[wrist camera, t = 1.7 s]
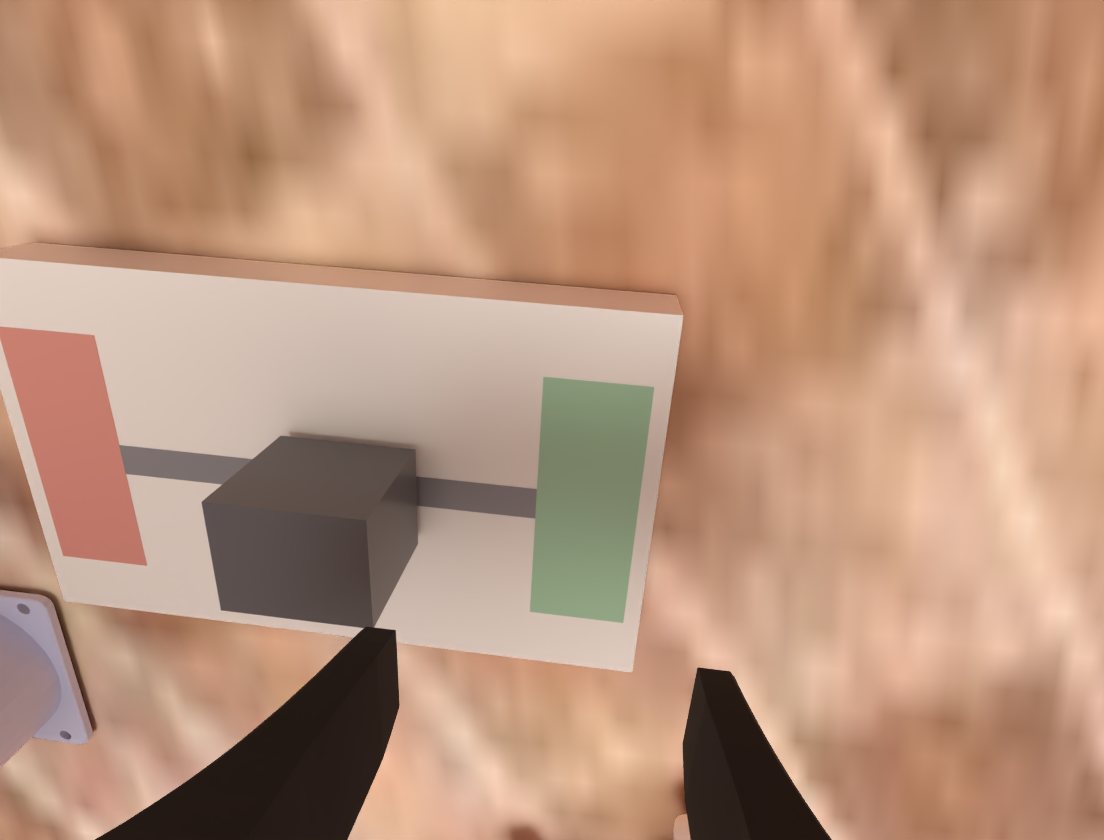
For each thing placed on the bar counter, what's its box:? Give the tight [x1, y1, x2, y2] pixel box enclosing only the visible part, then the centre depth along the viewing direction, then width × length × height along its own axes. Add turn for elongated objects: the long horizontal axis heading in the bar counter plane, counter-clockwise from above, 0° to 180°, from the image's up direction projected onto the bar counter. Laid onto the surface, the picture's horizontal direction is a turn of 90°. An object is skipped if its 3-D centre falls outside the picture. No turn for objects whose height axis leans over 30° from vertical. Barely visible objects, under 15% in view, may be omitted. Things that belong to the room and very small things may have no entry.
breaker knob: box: [201, 436, 418, 628], centre depth 17 cm, size 4×3×4 cm
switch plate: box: [0, 242, 683, 672], centre depth 21 cm, size 20×12×2 cm, turn 87°
